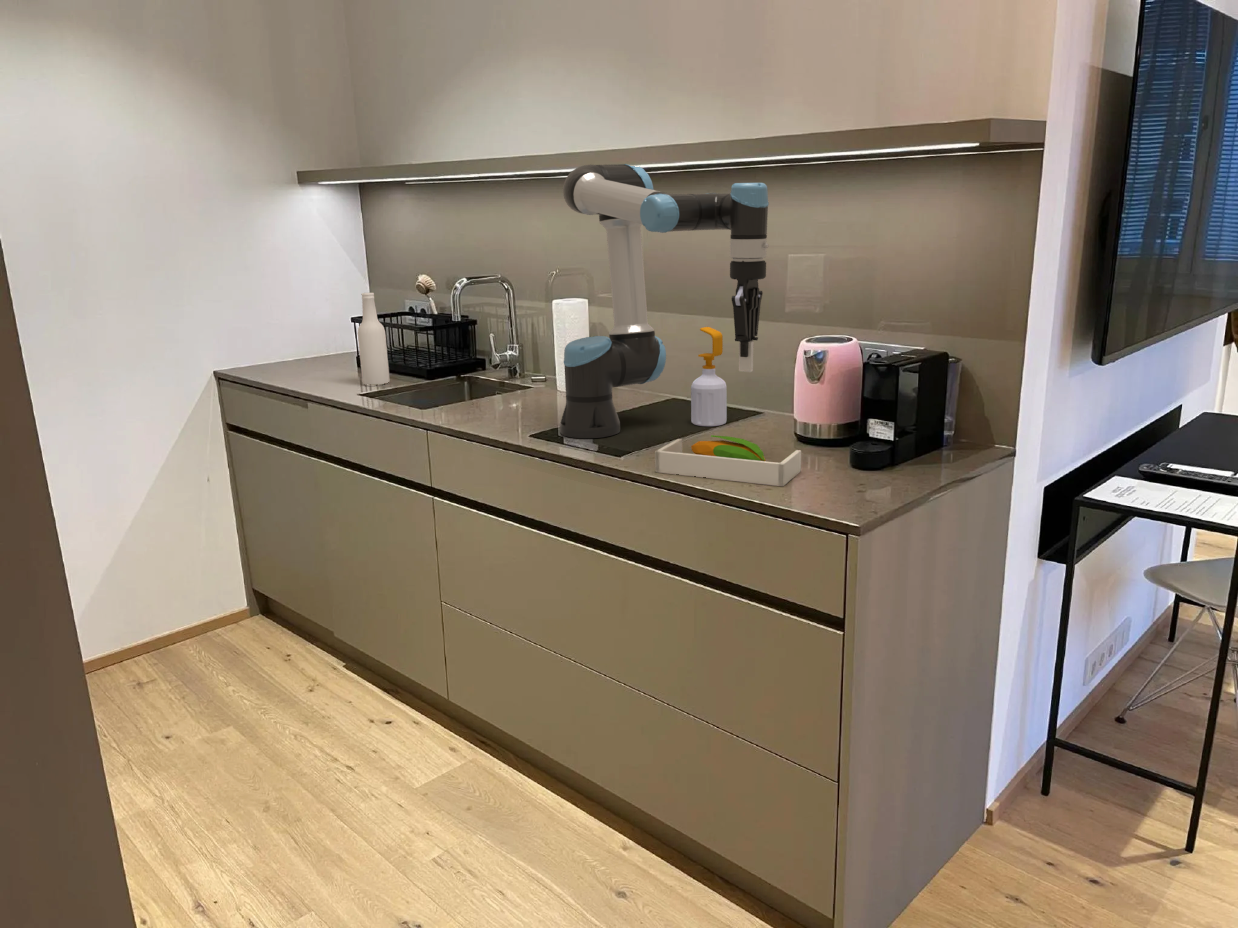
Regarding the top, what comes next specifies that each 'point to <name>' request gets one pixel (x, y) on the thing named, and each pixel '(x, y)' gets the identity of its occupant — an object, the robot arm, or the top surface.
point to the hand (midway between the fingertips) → (745, 371)
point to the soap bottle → (709, 388)
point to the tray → (726, 466)
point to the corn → (729, 449)
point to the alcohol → (372, 344)
